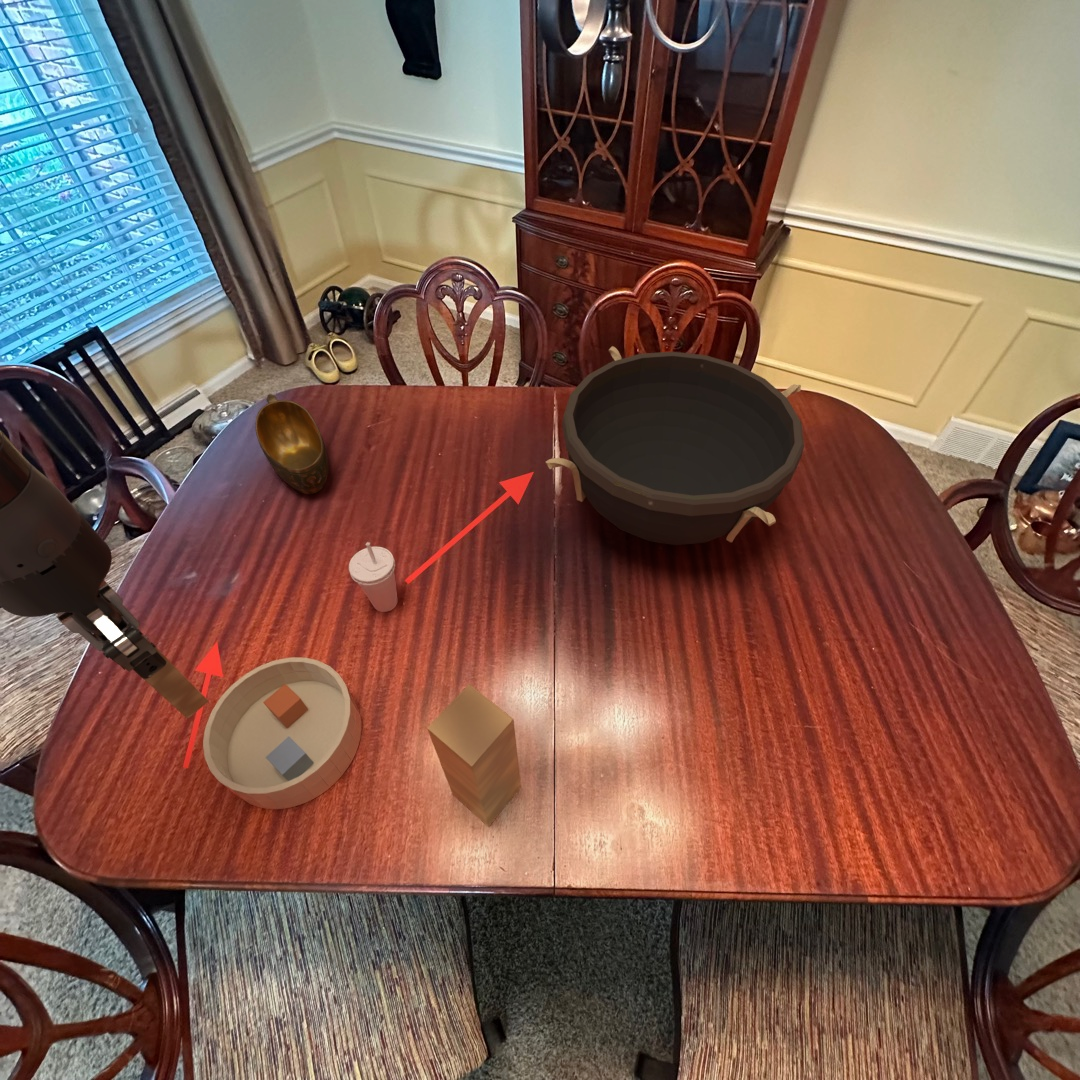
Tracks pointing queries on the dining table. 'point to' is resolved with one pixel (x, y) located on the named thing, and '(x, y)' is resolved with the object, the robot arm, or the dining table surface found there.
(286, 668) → the round beige tray
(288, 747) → the bluegrey block
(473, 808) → the oak stand
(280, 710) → the terracotta block
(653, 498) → the bowl
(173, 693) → the wooden square bar
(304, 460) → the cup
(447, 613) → the dining table surface
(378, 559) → the smoothie
